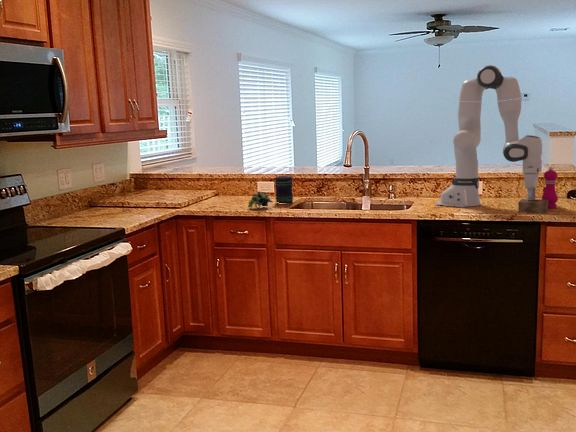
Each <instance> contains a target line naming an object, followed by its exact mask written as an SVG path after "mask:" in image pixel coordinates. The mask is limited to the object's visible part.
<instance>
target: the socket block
mask: <svg viewBox="0 0 576 432" xmlns="http://www.w3.org/2000/svg"><path fill="white" fill-rule="evenodd" d="M517 204H518V208H517V209H518V211H517V212H518V213H522V212H527V213H526V214H547V212H548V211H549V209H548V200H542V199H537V198H535V199H527V198H521V199H520V200H519V201H518V203H517Z"/></svg>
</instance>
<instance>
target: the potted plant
mask: <svg viewBox="0 0 576 432" xmlns="http://www.w3.org/2000/svg"><path fill="white" fill-rule="evenodd" d="M268 203H271V204H272V203H273V200H271V199H270V197H269V195H268V194H267V193H266V192H264V191H258V192H257V193H255V194H254V193H251V199H249V201H248V205H247V208H250V207H251V208H252V207H253V205H254V206H255V207H258V209H260V208H261V206H265V207H268V206H269V205H268ZM257 205H258V206H257Z"/></svg>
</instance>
